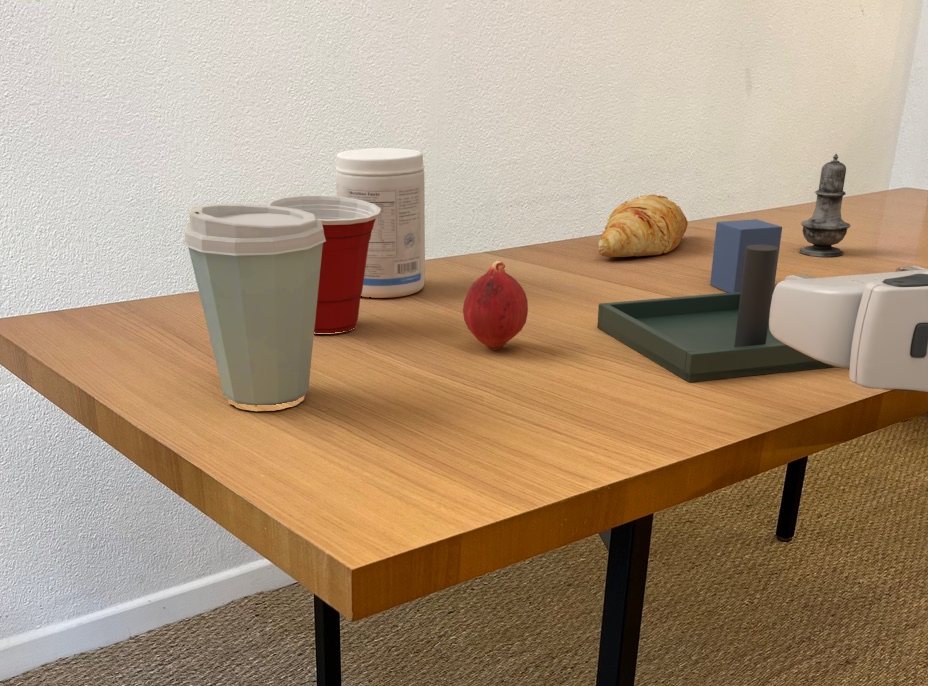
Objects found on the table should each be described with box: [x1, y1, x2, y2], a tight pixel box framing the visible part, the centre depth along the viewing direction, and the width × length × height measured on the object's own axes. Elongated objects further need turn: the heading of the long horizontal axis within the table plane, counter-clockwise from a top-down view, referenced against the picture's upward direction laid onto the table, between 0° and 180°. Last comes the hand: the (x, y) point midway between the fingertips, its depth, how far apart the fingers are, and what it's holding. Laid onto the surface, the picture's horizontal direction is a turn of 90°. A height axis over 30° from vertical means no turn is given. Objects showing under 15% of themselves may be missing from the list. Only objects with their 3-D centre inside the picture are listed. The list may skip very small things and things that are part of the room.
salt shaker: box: [799, 153, 851, 258], centre depth 131 cm, size 6×6×12 cm
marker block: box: [709, 218, 783, 293], centre depth 115 cm, size 5×5×7 cm
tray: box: [596, 245, 836, 383], centre depth 94 cm, size 16×18×10 cm
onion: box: [462, 260, 529, 350], centre depth 94 cm, size 6×6×8 cm
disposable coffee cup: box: [183, 203, 326, 406], centre depth 81 cm, size 11×11×15 cm
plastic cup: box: [266, 195, 381, 333], centre depth 101 cm, size 11×11×12 cm
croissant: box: [597, 194, 689, 258], centre depth 135 cm, size 21×10×8 cm, turn 143°
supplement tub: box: [335, 147, 426, 299], centre depth 115 cm, size 10×10×15 cm
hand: (847, 281), depth 78 cm, fingers open, 8 cm apart
